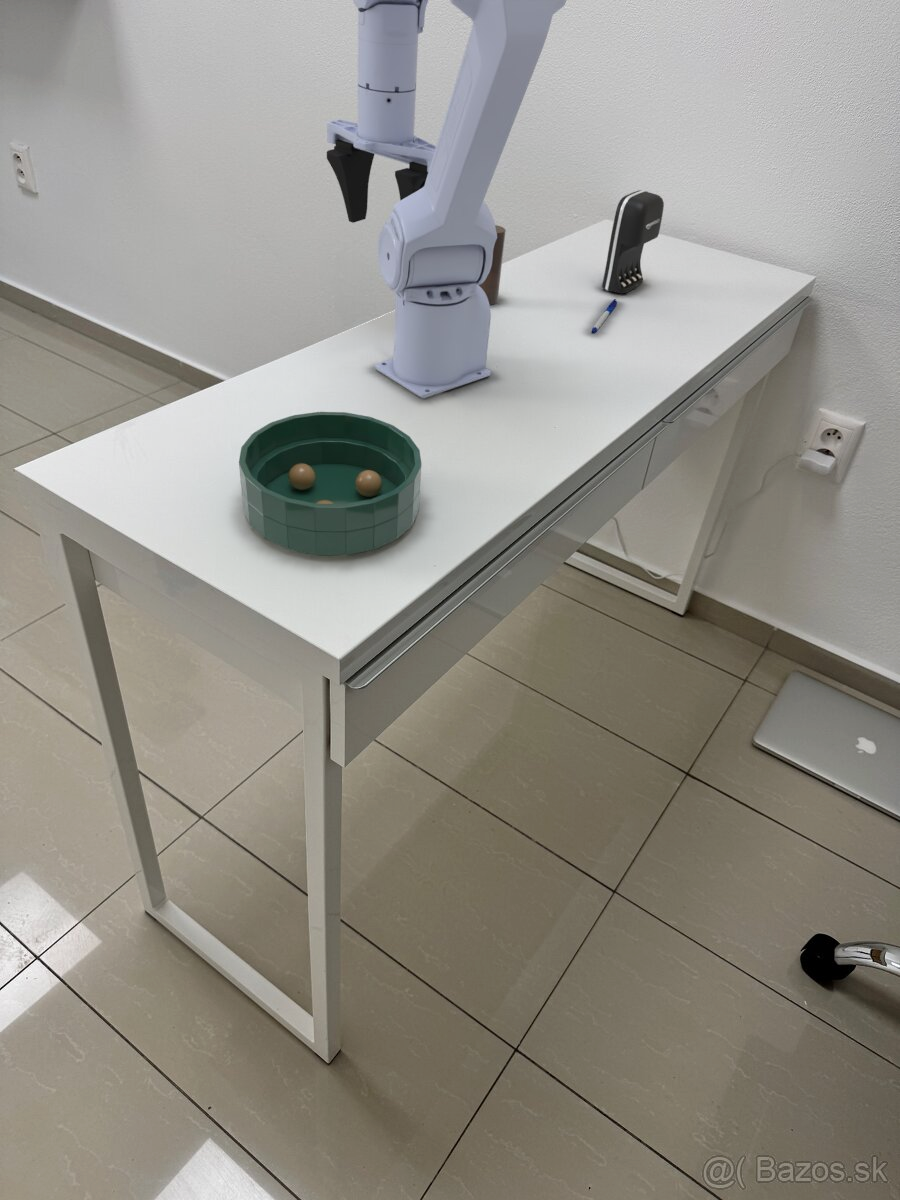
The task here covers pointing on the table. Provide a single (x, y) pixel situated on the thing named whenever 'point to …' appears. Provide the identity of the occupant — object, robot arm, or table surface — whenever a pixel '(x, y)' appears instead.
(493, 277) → the brown wooden cylinder
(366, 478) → the bead
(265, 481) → the bowl
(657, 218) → the battery charger
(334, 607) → the table surface
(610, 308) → the ballpoint pen
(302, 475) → the bead
